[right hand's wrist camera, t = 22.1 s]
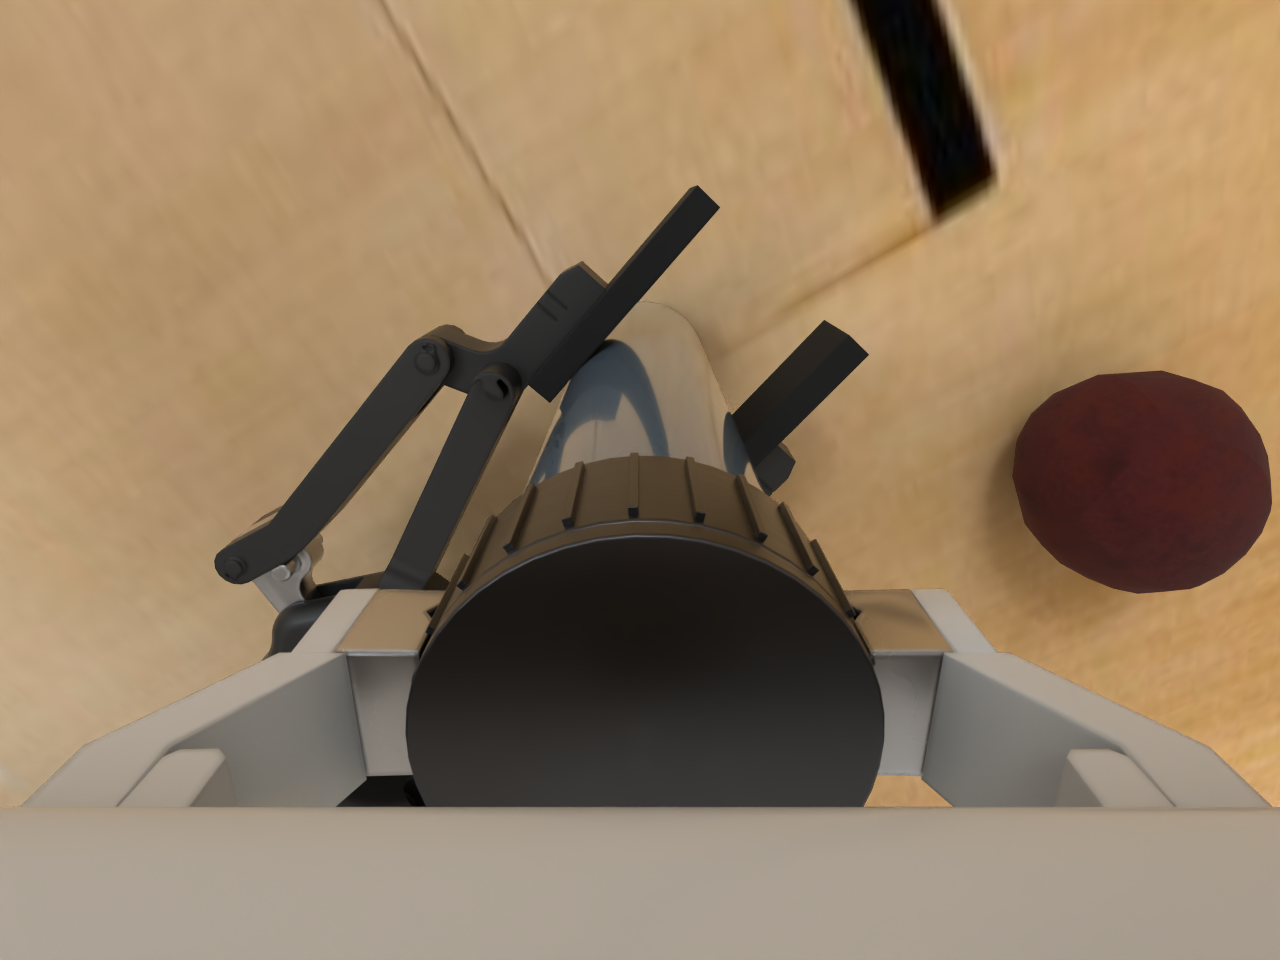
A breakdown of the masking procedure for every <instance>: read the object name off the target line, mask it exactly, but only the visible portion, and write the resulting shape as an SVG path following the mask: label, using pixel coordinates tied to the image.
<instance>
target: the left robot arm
mask: <svg viewBox="0 0 1280 960" xmlns="http://www.w3.org/2000/svg"><path fill="white" fill-rule="evenodd" d="M719 208H720V207H719V206H718V205H717V204H716V203H715V202H714V201H713V200H712V199H711V198H710V197H709V196H708V195H707V194H706V193H705V192H704V191H703V190H702V189H701V188H700V187H699V186H698V185H697V186H694V187H692V188H690V189H689V190H688V191H687V192H686V193H685V195H684V196H683V197H682V198H681V199H680V200H679V202H678V203H677V204H676V205H675V206H674V208H673V209H672V210H671V211H670V212H669V213H668V215H667V216H666V217H665V218H664V219H663V220H662V222H661V223H660V224H659V225H658V226H657V228H656V229H655V230H654V231H653V232H652V233H651V235H650V236H649V237H648V238H647V239H646V240H645V242H644V243H643V244H642V245H641V246H640V247H639V249H638V250H637V251H636V252H635V253H634V255H633V256H632V257H631V258H630V259H629V260H628V262H627V263H626V264H625V265H624V266H623V267H622V269H621V270H620V271H619V272H618V273H617V275H616V276H615V277H614V278H613V279H612V280H611V282H610V283H609V284H607V283H606V282H605V281H604V280H603V279H601V278H600V277H599V276H598V275H597V274H596V273H595V272H594V271H593V270H592V269H590V268H589V267H588V266H587V265H586V264H585V263H584V262H583V261H582V262H580V263H578V264H576V265H574V266H572V267H570V268H568V269H566V270H565V271H564V272H562V273H561V274H560V275H559V276H558V278H557V279H556V280H555V281H554V283H553V284H552V285H551V286H550V287H549V289H548V290H547V291H546V292H545V293H544V295H543V296H542V297H541V298H540V300H539V301H538V302H537V303H536V304H535V306H534V307H533V308H532V309H531V310H530V312H529V313H528V314H527V315H526V317H525V318H524V319H523V320H522V321H521V323H520V324H519V325H518V326H517V327H516V329H515V330H514V331H513V332H512V334H511V335H510V336H509V337H508V338H507V339H505V340H503V341H500V342H496V343H495V342H486V341H482V340H479V339H477V338H474V337H472V336H469V335H466V334H465V333H464V332H463V330H461V329H460V328H458V327H456V326H454V325H447V324H446V325H443V326H439V327H437V328H435V329H434V330H432V331H430V332H429V333H427V334H425V335H424V336H422V337H420V338H419V339H417V340H415V341H414V342H413V343H412V344H410V345H409V346H408V347H407V349H406V350H405V351H404V352H403V354H402V355H401V356H400V357H399V359H398V360H397V361H396V363H395V364H394V365H393V366H392V368H391V369H390V370H389V371H388V373H387V374H386V375H385V377H384V378H383V379H382V380H381V382H380V383H379V384H378V385H377V387H376V388H375V389H374V391H373V392H372V393H371V394H370V396H369V397H368V398H367V400H366V401H365V402H364V403H363V405H362V406H361V407H360V408H359V410H358V411H357V412H356V414H355V415H354V416H353V417H352V419H351V420H350V421H349V422H348V424H347V425H346V426H345V428H344V429H343V430H342V431H341V433H340V434H339V435H338V436H337V438H336V439H335V440H334V442H333V443H332V444H331V445H330V447H329V448H328V449H327V450H326V452H325V453H324V454H323V456H322V457H321V458H320V459H319V461H318V462H317V463H316V464H315V466H314V467H313V468H312V470H311V471H310V472H309V473H308V475H307V476H306V477H305V478H304V480H303V481H302V482H301V484H300V485H299V486H298V487H297V489H296V490H295V491H294V492H293V494H292V495H291V496H290V498H289V499H288V500H287V501H286V503H285V504H284V505H283V506H281V507H279V508H277V509H275V510H274V511H272V512H270V513H268V514H266V515H264V516H263V517H261V518H260V519H259V520H258V521H256V522H255V523H254V524H253V525H252V526H250V527H249V528H248V529H247V530H245V531H244V532H243V533H242V534H240V535H239V536H238V537H237V538H236V539H234V540H233V541H232V542H231V543H230V544H228V545H227V546H226V547H225V548H224V549H222V550H221V551H220V552H219V553H218V554H217V555H216V558H215V560H214V562H215V569H216V570H217V572H218V574H219V575H220V576H221V577H222V578H223V579H224V580H226V581H228V582H230V583H233V584H244V583H248V582H250V581H253V582H254V583H255V584H256V585H257V587H258V588H259V589H260V590H261V592H262V593H263V594H264V595H265V597H266V598H267V599H268V600H269V601H270V603H271V604H272V605H273V606H274V608H275V609H276V610H277V611H278V612H279V615H278V617H277V618H276V620H275V623H274V625H273V630H272V645H271V648H270V651H269V652H268V654H267V655H266V656H265V657H264V658H263V660H265V659H267V658H269V657H271V656H273V655H275V654H277V653H291V652H292V651H293V649H294V648H295V647H296V646H297V644H298V643H299V642H300V641H301V639H302V638H303V637H304V635H305V634H306V633H307V632H308V630H309V629H310V628H311V627H312V625H313V624H314V623H315V622H316V620H317V619H318V618H319V616H320V615H321V614H322V613H323V611H324V610H325V609H326V608H327V606H328V605H329V604H330V603H331V601H332V600H333V599H334V598H335V596H336V595H337V594H338V593H339V592H340V591H341V590H346V589H376V588H379V589H380V590H383V589H397V590H446V589H447V587H448V585H449V583H450V582H449V581H447V580H446V579H445V578H443V577H442V576H441V575H439V574H438V573H436V570H437V568H438V566H439V563H440V561H441V559H442V557H443V555H444V553H445V551H446V549H447V547H448V545H449V542H450V540H451V538H452V536H453V534H454V532H455V530H456V528H457V526H458V524H459V522H460V520H461V518H462V516H463V513H464V511H465V509H466V507H467V505H468V503H469V501H470V499H471V497H472V495H473V493H474V491H475V489H476V487H477V485H478V483H479V481H480V479H481V477H482V475H483V473H484V471H485V469H486V466H487V464H488V462H489V460H490V458H491V456H492V454H493V452H494V450H495V448H496V446H497V444H498V442H499V440H500V438H501V436H502V434H503V432H504V430H505V428H506V426H507V424H508V422H509V420H510V417H511V415H512V413H513V411H514V409H515V407H516V405H517V403H518V401H519V399H520V397H521V395H522V393H523V391H524V389H525V388H526V387H527V386H528V385H529V386H530V387H532V388H533V389H534V390H535V391H536V392H538V393H539V394H540V395H541V396H542V397H544V398H545V399H546V400H547V401H548V402H551V401H552V400H553V399H554V398H555V396H556V395H557V394H558V393H559V392H560V391H561V390H562V388H563V387H564V386H565V385H566V384H567V383H568V382H569V380H570V379H571V378H572V377H573V376H574V375H575V374H576V372H577V371H578V370H579V369H580V368H581V367H582V365H583V364H584V363H585V362H586V361H587V360H588V359H589V357H590V356H591V355H592V354H593V353H594V352H595V351H596V349H597V348H598V347H599V346H600V345H601V344H602V343H603V341H604V340H605V339H606V338H607V337H608V336H609V334H610V333H611V332H612V331H613V330H614V329H615V328H616V326H617V325H618V324H619V323H620V322H621V321H622V320H623V318H624V317H625V316H626V315H627V314H628V313H629V312H630V310H631V309H632V308H633V307H634V306H635V305H636V304H637V302H638V301H639V300H640V299H641V298H642V297H643V295H644V294H645V293H646V292H647V291H648V290H649V289H650V287H651V286H652V285H653V284H654V283H655V282H656V281H657V279H658V278H659V277H660V276H661V275H662V274H663V273H664V271H665V270H666V269H667V268H668V267H669V266H670V264H671V263H672V262H673V261H674V260H675V259H676V258H677V256H678V255H679V254H680V253H681V252H682V251H683V250H684V248H685V247H686V246H687V245H688V244H689V243H690V242H691V240H692V239H693V238H694V237H695V236H696V235H697V234H698V232H699V231H700V230H701V229H702V228H703V227H704V225H705V224H706V223H707V222H708V221H709V220H710V219H711V217H712V216H713V215H714V214H715V213H716V212H717V211H718V209H719ZM868 355H869V354H868V353H867V352H866V351H865V350H864V349H863V348H862V347H861V346H860V345H859V344H858V343H857V342H856V341H855V340H854V339H853V338H852V337H850V336H849V335H848V334H846V333H845V332H843V331H841V330H840V329H838V328H836V327H835V326H833V325H831V324H830V323H828V322H827V321H825V320H824V321H823V322H822V323H821V324H820V325H819V326H818V327H817V328H816V329H815V330H814V331H813V332H812V333H811V334H810V335H809V336H808V337H807V338H806V339H805V340H804V341H803V342H802V343H801V344H800V346H799V347H798V348H797V349H796V350H795V351H794V352H793V353H792V354H791V355H790V356H789V357H788V358H787V359H786V360H785V361H784V362H783V363H782V364H781V365H780V366H779V367H778V368H777V369H776V370H775V371H774V372H773V373H772V374H771V375H770V376H769V377H768V379H767V380H766V381H765V382H764V383H763V384H762V385H761V386H760V387H759V388H758V389H757V390H756V391H755V392H754V393H753V394H752V395H751V396H750V397H749V398H748V399H747V400H746V401H745V402H744V403H743V404H742V405H741V406H740V407H739V408H738V409H737V410H736V412H735V413H734V414H733V415H732V417H733V420H734V422H735V424H736V427H737V429H738V431H739V434H740V436H741V438H742V441H743V443H744V445H745V448H746V450H747V453H748V455H749V457H750V460H751V462H752V464H753V467H754V469H755V471H756V474H757V476H758V479H759V481H760V483H761V486H762V488H763V490H764V493H765V494H766V495H768V496H770V495H771V494H772V492H774V491H775V490H776V489H777V488H779V487H780V486H781V485H782V484H783V483H784V482H785V481H786V480H787V479H788V477H789V475H790V473H791V471H792V468H793V466H794V464H795V462H796V461H795V460H794V458H793V457H792V455H791V453H790V452H789V450H788V448H787V447H786V446H785V445H784V444H783V443H782V441H783V440H784V439H785V438H786V437H787V436H788V435H789V434H790V433H791V432H792V431H793V430H794V429H795V428H796V427H797V426H798V425H799V424H800V423H801V422H802V421H803V420H804V419H805V418H806V417H807V416H808V415H809V414H810V413H811V412H812V411H813V410H814V409H815V408H816V407H817V406H818V405H819V404H820V403H821V402H822V401H823V400H824V399H825V398H826V397H827V396H828V395H829V394H830V393H831V392H832V391H833V390H834V389H835V388H836V387H837V386H838V385H839V384H840V383H841V382H842V381H843V380H844V379H845V378H846V377H847V376H848V375H849V374H850V373H851V372H852V371H853V370H854V369H855V368H856V367H857V366H858V365H859V364H860V363H861V362H862V361H863V360H864V359H865V358H866V357H867V356H868ZM444 385H446V386H448V387H451V388H454V389H456V390H459V391H462V392H464V393H467V394H468V395H467V397H466V399H465V401H464V404H463V406H462V408H461V410H460V412H459V414H458V417H457V419H456V421H455V423H454V425H453V427H452V430H451V432H450V434H449V436H448V438H447V440H446V443H445V445H444V447H443V449H442V451H441V453H440V455H439V458H438V460H437V462H436V464H435V466H434V468H433V471H432V473H431V475H430V477H429V479H428V481H427V484H426V486H425V488H424V490H423V492H422V494H421V497H420V499H419V501H418V503H417V505H416V507H415V510H414V512H413V514H412V516H411V518H410V520H409V523H408V525H407V527H406V529H405V531H404V533H403V535H402V538H401V540H400V542H399V544H398V546H397V548H396V551H395V553H394V555H393V557H392V559H391V561H390V563H389V565H388V567H387V568H386V570H385V571H383V572H378V573H373V574H368V575H363V576H358V577H354V578H349V579H344V580H339V581H334V582H329V583H324V584H319V585H315V583H314V581H313V578H312V570H313V568H314V566H315V565H316V564H317V563H318V562H319V561H320V560H321V558H322V556H323V551H324V550H323V545H322V543H323V538H322V536H321V534H320V532H321V531H322V530H323V529H324V528H325V527H326V526H327V525H328V524H329V523H330V522H331V521H332V520H333V519H334V518H335V517H336V516H337V514H338V513H339V512H340V511H341V510H342V509H343V508H344V507H345V506H346V505H347V503H348V502H349V501H350V500H351V499H352V497H353V496H354V495H355V494H356V492H357V491H358V490H359V489H360V488H361V486H362V485H363V484H364V483H365V481H366V480H367V479H368V478H369V477H370V475H371V474H372V473H373V472H374V470H375V469H376V468H377V467H378V466H379V464H380V463H381V462H382V461H383V459H384V458H385V457H386V456H387V455H388V453H389V452H390V451H391V450H392V448H393V447H394V446H395V445H396V444H397V442H398V441H399V440H400V439H401V437H402V436H403V435H404V434H405V433H406V431H407V430H408V429H409V428H410V426H411V425H412V424H413V423H414V422H415V420H416V419H417V418H418V417H419V415H420V414H421V413H422V412H423V411H424V409H425V408H426V407H427V406H428V404H429V403H430V402H431V401H432V400H433V398H434V397H435V396H436V395H437V393H438V392H439V391H440V390H441V389H442V387H443V386H444ZM263 660H262V661H263ZM366 778H367V780H366V781H365V782H363V783H362V784H361V785H360V786H359V787H358V788H356V789H355V790H354V791H353V792H352V793H351V794H350V795H348V796H347V797H346V798H345V799H344V800H343V801H342V802H340V803H339V804H338V805H337V806H336V807H426V806H425V803H424V801H423V799H422V797H421V795H420V793H419V790H418V788H417V786H416V784H415V780H414V777H413V775H389V776H366Z"/></svg>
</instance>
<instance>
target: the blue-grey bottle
mask: <svg viewBox="0 0 1280 960" xmlns="http://www.w3.org/2000/svg"><path fill="white" fill-rule="evenodd" d="M636 452H638V453H639V456H665V457H672V458H679V459H686V456H688V457H693V458H694V460H695V462H698V463H702V464H705V465H709V466H713V467H715V468H718V469H720V470H723V471H725V472H728V473H730V474H732V475H735V476H737V475H738V474H739V473H740V474H742V475H744V476H745V477H746V479H747V482H748V483H749V484H751V485H753V486H755V487H756V488H758V489H760V490H761V491H762V492H764V490H763V488H762V486H761V483H760V481H759V479H758V476H757V474H756V471H755V469H754V467H753V464H752V462H751V460H750V457H749V455H748V453H747V450H746V448H745V445H744V443H743V441H742V438H741V436H740V434H739V431H738V429H737V427H736V424H735V422H734V420H733V417H732V415H731V412H730V410H729V408H728V405H727V403H726V401H725V398H724V396H723V394H722V391H721V389H720V386H719V384H718V382H717V379H716V377H715V375H714V372H713V370H712V368H711V365H710V363H709V361H708V358H707V356H706V353H705V351H704V349H703V346H702V344H701V342H700V339H699V337H698V335H697V333H696V332H695V330H694V328H693V327H692V326H691V324H690V323H689V322H688V321H687V320H686V319H685V318H684V317H683V316H682V315H680V314H679V313H677V312H676V311H674V310H673V309H671V308H669V307H666V306H664V305H661V304H657V303H652V302H637V304H636V305H635V306H634V307H633V308H632V309H631V310H630V312H629V313H628V314H627V315H626V316H625V317H624V318H623V320H622V321H621V322H620V323H619V324H618V325H617V326H616V328H615V329H614V330H613V331H612V332H611V333H610V334H609V336H608V337H607V338H606V339H605V340H604V341H603V343H602V344H601V345H600V346H599V347H598V348H597V349H596V351H595V352H594V353H593V354H592V355H591V356H590V357H589V359H588V360H587V361H586V362H585V363H584V364H583V365H582V367H581V368H580V369H579V370H578V371H577V372H576V374H575V375H574V376H573V377H572V378H571V379H570V380H569V382H568V383H567V386H566V388H565V391H564V393H563V396H562V398H561V400H560V403H559V405H558V408H557V410H556V413H555V415H554V418H553V420H552V422H551V425H550V427H549V430H548V432H547V435H546V437H545V440H544V442H543V445H542V447H541V449H540V452H539V454H538V457H537V459H536V462H535V464H534V467H533V469H532V471H531V474H530V476H529V479H528V481H527V484H526V486H528V485H529V484H531V483H534V484H535V485H537V484H539V483H541V482H543V481H545V480H546V479H548V478H550V477H552V476H554V475H556V474H558V473H561V472H563V471H566V470H569V469H571V468H574V467H575V463H577V462H581V461H583V462H584V464H586V463H591V462H595V461H599V460H603V459H608V458H617V457H626V456H630V453H636ZM526 486H525V489H526ZM525 489H524V491H525ZM524 491H523V494H524Z"/></svg>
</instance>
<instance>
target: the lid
mask: <svg viewBox="0 0 1280 960" xmlns="http://www.w3.org/2000/svg"><path fill="white" fill-rule="evenodd" d="M855 615H856V614H855V612H854V610H853V608H852V606H851V604H850V602H849V601H848V599H847V597H846V595H845V593H844V591H843V589H842V587H841V585H840V583H839V582H838V580H837V578H836V576H835V574H834V572H833V570H832V568H831V566H830V564H829V562H828V561H827V559H826V557H825V555H824V553H823V551H822V549H821V547H820V545H819V544H818V542H817V540H816V539H815V540H813V541H811V542H810V540H809V539H808V537H807V536H806V535H805V533H804V532H803V530H802V529H801V528H800V526H799V525H798V524H797V522H796V521H795V519H794V517H793V515H792V513H791V511H790V509H789V507H788V506H787V505H786V504H785V503H784V502H782V503H781V504H780V505H779V504H778V503H777V502H775V501H774V500H773V499H771V498H770V497H769V496H768V495H766V494H765V493H764V492H762V491H761V490H760V489H758V488H756V487H755V486H753V485H751V484H749V483H748V482H747V479H746V477H745V476H744V475H742V474H740V473H739V474H738V475H737V476H735V475H732V474H730V473H728V472H725V471H723V470H720V469H718V468H715V467H713V466H709V465H705V464H702V463H698V462H695V460H694V458H693V457H688V456H686V459H679V458H672V457H665V456H639V453H638V452H636V453H630V456H626V457H617V458H608V459H603V460H599V461H595V462H591V463H586V464H584V462H583V461H581V462H577V463H575V467H574V468H571V469H569V470H566V471H563V472H561V473H558V474H556V475H554V476H552V477H550V478H548V479H546V480H545V481H543V482H541V483H539V484H537V485H535V484H534V483H531V484H529V485H528V486H526V489H525V491H524V494H522V495H521V496H520V497H518V498H517V499H515V500H514V501H513V502H512V503H511V504H510V505H509V506H508V507H507V508H505V509H504V510H503V511H502V512H501V513H500V514H499V515H498V516H497V517H495V516H494V515H491V516H490V517H489V519H488V520H487V522H486V524H485V526H484V528H483V530H482V532H481V534H480V536H479V539H478V541H477V543H476V545H475V547H474V549H473V551H472V553H471V555H470V556H468V555H466V554H464V555H463V557H462V559H461V561H460V563H459V565H458V567H457V569H456V571H455V573H454V575H453V577H452V579H451V581H450V583H449V585H448V587H447V589H446V591H445V593H444V595H443V597H442V599H441V601H440V603H439V605H438V607H437V609H436V611H435V613H434V615H433V617H432V619H431V621H430V623H429V625H428V627H427V629H426V631H425V633H427V634H429V635H432V636H431V638H430V640H429V642H428V644H427V646H426V648H425V650H424V652H423V654H422V656H421V659H420V662H419V664H418V667H417V669H416V672H415V673H414V674H413V676H412V683H411V687H410V692H409V697H408V702H407V707H406V728H405V735H406V743H407V751H408V759H409V763H410V766H411V770H412V773H413V777H414V780H415V784H416V786H417V788H418V790H419V793H420V795H421V797H422V799H423V801H424V803H425V806H426V807H863V806H864V804H865V803H866V801H867V799H868V797H869V795H870V793H871V791H872V788H873V785H874V782H875V779H876V776H877V773H878V771H879V768H880V763H881V757H882V751H883V745H884V730H885V713H884V707H883V701H882V694H881V688H880V685H879V682H878V679H877V676H876V673H875V670H874V667H873V665H875V660H874V657H873V655H870V654H869V652H868V650H867V648H866V646H865V645H864V643H863V641H862V639H861V637H860V635H859V633H858V631H857V629H856V627H855V625H854V621H855V620H854V618H853V616H855Z"/></svg>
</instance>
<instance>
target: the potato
mask: <svg viewBox="0 0 1280 960" xmlns="http://www.w3.org/2000/svg"><path fill="white" fill-rule="evenodd" d="M1013 480H1014V484H1015V487H1016V491H1017V495H1018V499H1019V503H1020V506H1021V510H1022V514H1023V518H1024V522H1025V524H1026V526H1027V527H1028V528H1029V529H1030V531H1031V532H1032V533H1033V535H1034V536H1035V537H1036V538H1037V540H1038V541H1039V542H1040V543H1041V544H1042V545H1043V546H1044V547H1045V548H1046V549H1047V550H1048V551H1049V552H1050V553H1051V554H1052V555H1053V556H1054V557H1055V558H1056V559H1057V560H1058V561H1059V562H1060V563H1061V564H1063V565H1065V566H1066V567H1068V568H1070V569H1072V570H1074V571H1076V572H1077V573H1079V574H1081V575H1083V576H1085V577H1087V578H1089V579H1091V580H1094V581H1096V582H1099V583H1101V584H1104V585H1106V586H1108V587H1111V588H1114V589H1118V590H1123V591H1128V592H1132V593H1137V594H1139V593H1152V592H1165V591H1174V590H1184V589H1191V588H1194V587H1197V586H1200V585H1202V584H1204V583H1206V582H1208V581H1210V580H1212V579H1214V578H1216V577H1218V576H1219V575H1221V574H1223V573H1225V572H1226V571H1227V570H1228V569H1229V568H1231V567H1232V566H1233V565H1234V564H1235V563H1236V562H1237V561H1239V560H1240V559H1241V558H1242V557H1243V556H1244V555H1246V553H1247V552H1248V551H1249V549H1250V548H1251V547H1252V545H1253V544H1254V543H1255V541H1256V540H1257V539H1258V537H1259V536H1260V534H1261V533H1262V531H1263V528H1264V526H1265V524H1266V521H1267V519H1268V516H1269V514H1270V511H1271V505H1272V496H1271V478H1270V470H1269V462H1268V455H1267V453H1266V450H1265V447H1264V444H1263V442H1262V439H1261V436H1260V434H1259V433H1258V431H1257V430H1256V428H1255V427H1254V425H1253V424H1252V422H1251V421H1250V420H1249V418H1248V417H1247V415H1246V414H1245V412H1244V411H1243V409H1242V408H1241V407H1240V406H1239V405H1238V404H1237V403H1236V402H1235V401H1233V400H1232V399H1231V398H1230V397H1229V396H1228V395H1227V394H1226V393H1225V392H1224V391H1222V390H1220V389H1217V388H1214V387H1211V386H1209V385H1206V384H1203V383H1201V382H1198V381H1195V380H1192V379H1189V378H1185V377H1182V376H1178V375H1175V374H1172V373H1168V372H1165V371H1149V372H1134V373H1120V374H1105V375H1097V376H1094V377H1092V378H1090V379H1087V380H1085V381H1082V382H1080V383H1078V384H1075V385H1073V386H1071V387H1068V388H1066V389H1064V390H1061V391H1059V392H1057V393H1055V394H1053V395H1052V396H1051V397H1050V398H1048V399H1047V400H1046V401H1045V402H1044V403H1043V404H1042V405H1041V406H1039V407H1038V408H1037V409H1036V410H1035V411H1034V412H1033V413H1032V414H1031V415H1030V417H1029V419H1028V421H1027V422H1026V424H1025V426H1024V428H1023V430H1022V431H1021V433H1020V435H1019V437H1018V439H1017V443H1016V451H1015V460H1014V468H1013Z"/></svg>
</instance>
